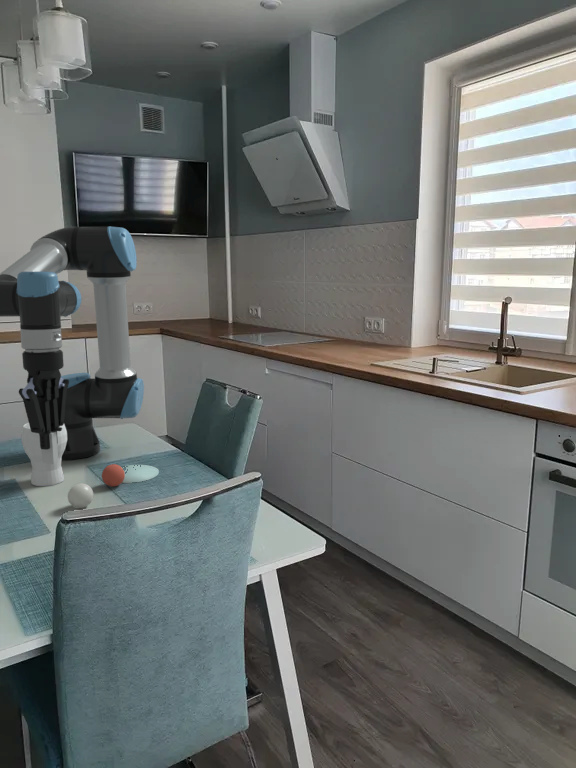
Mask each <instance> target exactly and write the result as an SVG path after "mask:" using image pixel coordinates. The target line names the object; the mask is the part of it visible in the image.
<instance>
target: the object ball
mask: <svg viewBox="0 0 576 768" xmlns="http://www.w3.org/2000/svg"><path fill="white" fill-rule="evenodd" d="M121 466H122V465H121ZM121 466H120V465H119V464H114V463H113V464H109V465H106V467H104V469H103V470H102V472H101V480H102V482H103V483H104V484H105V485H106V486H108V487H113V488H114V487H118V486H119V485H122V484H123V483H122V482H123V480H124V477H125V472H124V470H123V468H122V467H121Z"/></svg>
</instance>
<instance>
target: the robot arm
mask: <svg viewBox="0 0 576 768" xmlns="http://www.w3.org/2000/svg"><path fill="white" fill-rule="evenodd" d="M136 251H137V250H136V247H135V243H134V239H133V237H132V235H131V233H130V232H129V230H127V229H126V228H124V227H118V226H110V225H109V226H67V227H62V228H59V229H57V230H54V231H51V232H50V233H47V234H45V235H43V236H42V237H40V238H39V239H37V240H36V241H34V242H33V243H32V245H31V246H30V250H29V251H28V252H27V253H25V254H23V256H21V257H20V258H19V259H17V260H16V261H15V262H13V263H12V264H11V265H10V266H8V267H7V268H5V269H4V270H2V271H1V272H0V318H1V317H3V318H4V317H7V318H8V317H19V323H20V324H19V327H20V330H19V331H20V332H19V333H20V342H21V344H20V345H21V349H22V350H24V351H23V352H22V353H21V355H22V367H23V369H24V370H25V371H26V372H27V378H26V379H27V380H26V383H27V384H26V386H25V387H24V388H19V390H18V394H19V396H20V398H21V399H22V401H23V406H24V409H25V413H26V417H27V421H28V423H29V425H30V429H31V432H34V433H38V434H39V436H40V448H41V450H42V463H45V464H56V463H58V450H57V444H58V438H57V431H61V430H62V428H61V427H60V426H63V425H65V428H66V431H67V443H66V447H65V450H64V452H63V455H62V459H61V461H62V460H63V461H64V460H66V461H68V460H69V461H70V460H78V459H85V458H89V457H92V456H94V455H97V454H98V453H99V452H100V451H101V442H100V440H99V437H98V435H97V432H96V429H95V428H94V424H93V419H120V420H123V419H133V418H136V417H137V416H138V415H139V414H140V412H141V408H142V404H143V399H144V393H145V385H144V380H143V378H141V377H138V375H137V373H138V372H137V371H136V370H135V369H134V368H133V367H132V363H131V352H130V351H131V350H130V349H131V347H130V336H129V335H130V333H129V318H128V316H129V315H128V301H127V300H128V299H127V286H126V283H127V282H128V281H129V280H130V278H131V277H132V275H131V272H134V271H136V270H137V261H138V260H137V252H136ZM64 271H85V272H86V277H87V279H88V280H89V281H90V282H91V283H92V285H93V295H94V296H93V297H94V306H95V307H94V308H95V319H96V320H95V324H96V334H97V335H96V337H97V349H98V358H99V359H98V361H99V369H97V370H96V372H95V373H94V378H93V377H92V378H91V375H90V373H89V372H77V373H76V372H74V373H70V374H63V375H62V374H61V369H63V368H64V366H65V365H64V352H63V351H62V350H61V348H62V347H63V342H62V341H63V340H62V322H61V321H62V320H61V317H64V318H65V317H68V316H71V315H72V314H74V313H76V312H77V311H78V310H79V308H80V307H81V304H82V295H81V292H80V290H79V288H78V287H77V286H76V285H75V284H74V283H71V282H69V281H65V280H59V278H58V277H59V276H58V274H60V273H62V272H64Z"/></svg>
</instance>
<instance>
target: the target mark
mask: <svg viewBox="0 0 576 768" xmlns="http://www.w3.org/2000/svg"><path fill="white" fill-rule="evenodd" d="M134 465H135V466H134ZM137 465H138V466H137ZM140 465H141V467H140ZM124 466H125V467H126V466H128V467H126V470H125V471H124V472H126V471H127V469H128V471H127V473H126V474H125V477H124V480H123V482H122V483H121V484H133V483H132V482H137V483H142V481H143V482H146V480H147V481H149V480H152V479H154V478H156V477H158V475H159V473H160V470H159V469H158V468H157V467H155V466H152V465H148V464H147V465H146V464H129V465H124ZM133 467H134V468H133ZM123 468H124V467H123ZM135 469H136V470H135Z"/></svg>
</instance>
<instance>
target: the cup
mask: <svg viewBox="0 0 576 768" xmlns="http://www.w3.org/2000/svg"><path fill="white" fill-rule="evenodd" d="M60 427H61V428H62V430H61V431H57V438H58V444H57V450H58V463H56V464H45V463H42V450H41V448H40V436H39V434H38V433H34V432H31V429H30V425H29V422H27V423H25V424H23V426H22V429H21V430H22V431H21V434H20V437H21V445H22V447H23V450H24V452H25V454H26V455H27V457H28V459H29V460H30V464H31V468H32V471H31V481H30V482H31V485H33V486H37V487H46V486H47V487H49V486H54V485H57V484H60V483H61V482H63V481H65V476H64V472H63V468H62V460H61V459H62V455H63V452H64V450H65V447H66V443H67V431H66V428H65V425H63V426H60Z"/></svg>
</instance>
